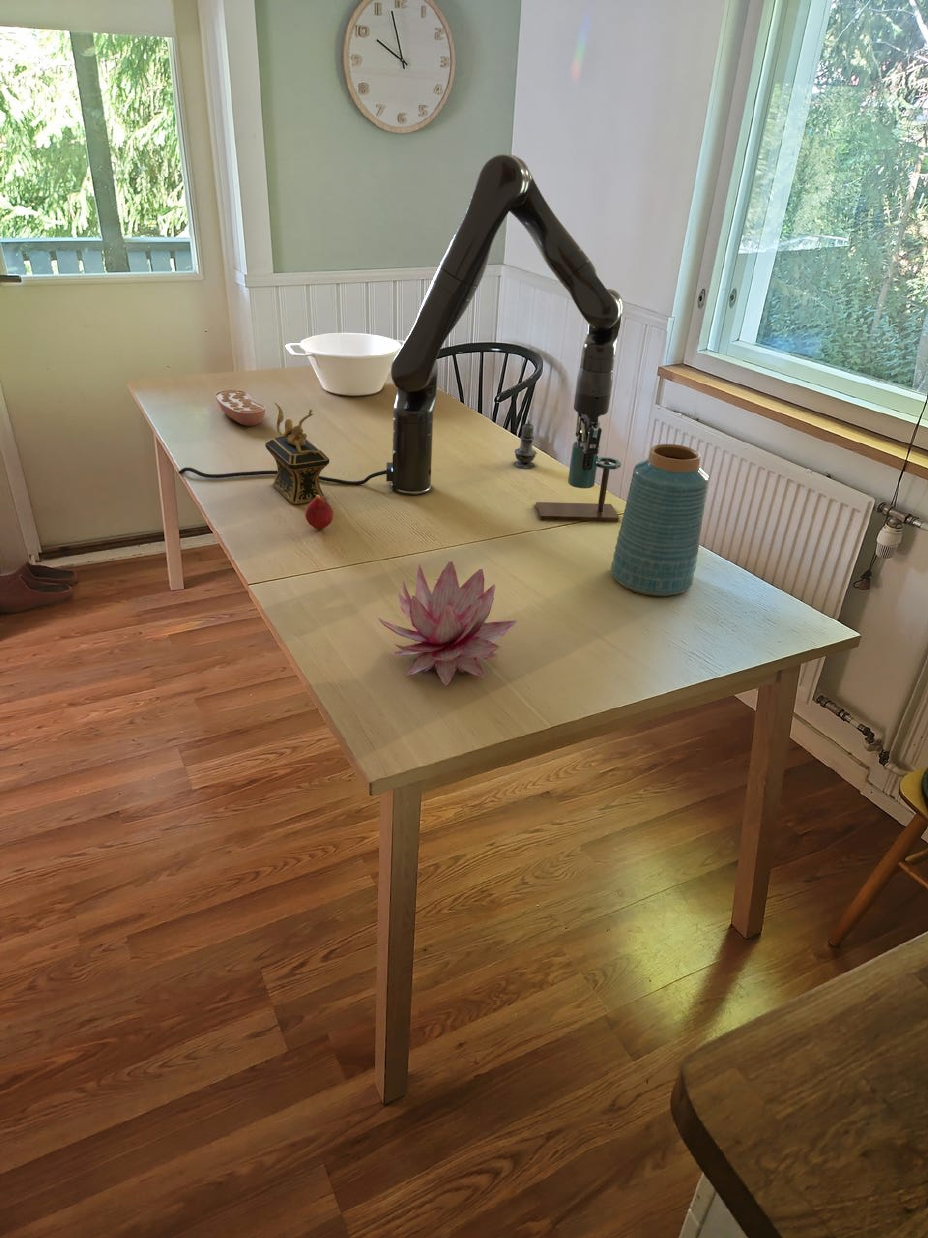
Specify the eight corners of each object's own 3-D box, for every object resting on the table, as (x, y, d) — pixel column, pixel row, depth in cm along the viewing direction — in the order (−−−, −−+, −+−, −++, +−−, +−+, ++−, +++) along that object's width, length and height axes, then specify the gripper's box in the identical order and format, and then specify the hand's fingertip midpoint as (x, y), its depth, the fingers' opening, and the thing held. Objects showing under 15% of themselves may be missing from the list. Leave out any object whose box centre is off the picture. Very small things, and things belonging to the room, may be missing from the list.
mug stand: (540, 519, 190) (546, 465, 184) (535, 505, 197) (541, 453, 190) (618, 521, 192) (627, 468, 185) (610, 507, 199) (618, 455, 192)
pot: (301, 406, 252) (299, 358, 245) (280, 378, 277) (278, 333, 270) (427, 399, 266) (428, 353, 258) (396, 372, 291) (397, 330, 284)
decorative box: (332, 501, 192) (330, 417, 182) (292, 508, 187) (288, 422, 177) (299, 472, 206) (296, 392, 196) (261, 478, 202) (256, 396, 192)
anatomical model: (271, 427, 234) (270, 410, 231) (236, 432, 229) (234, 414, 226) (242, 405, 250) (241, 388, 247) (209, 408, 245) (208, 391, 243)
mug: (570, 488, 188) (575, 449, 183) (565, 478, 193) (570, 440, 188) (619, 489, 189) (625, 450, 184) (613, 479, 194) (619, 441, 189)
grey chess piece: (533, 470, 217) (538, 424, 211) (511, 467, 218) (515, 422, 212) (536, 462, 222) (541, 418, 216) (514, 459, 223) (519, 415, 217)
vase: (675, 608, 158) (704, 474, 145) (596, 582, 165) (617, 452, 152) (702, 576, 170) (732, 450, 157) (628, 553, 177) (650, 431, 164)
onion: (338, 527, 180) (337, 492, 176) (325, 537, 176) (324, 502, 172) (313, 522, 182) (312, 487, 178) (301, 532, 177) (299, 497, 173)
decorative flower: (405, 618, 149) (407, 541, 142) (522, 642, 145) (530, 564, 137) (358, 682, 132) (358, 599, 124) (489, 712, 127) (497, 628, 119)
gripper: (570, 379, 185) (561, 452, 194) (583, 398, 173) (573, 475, 182) (603, 380, 186) (593, 453, 195) (618, 399, 174) (607, 476, 182)
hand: (583, 463), depth 188 cm, fingers closed on mug, 6 cm apart
